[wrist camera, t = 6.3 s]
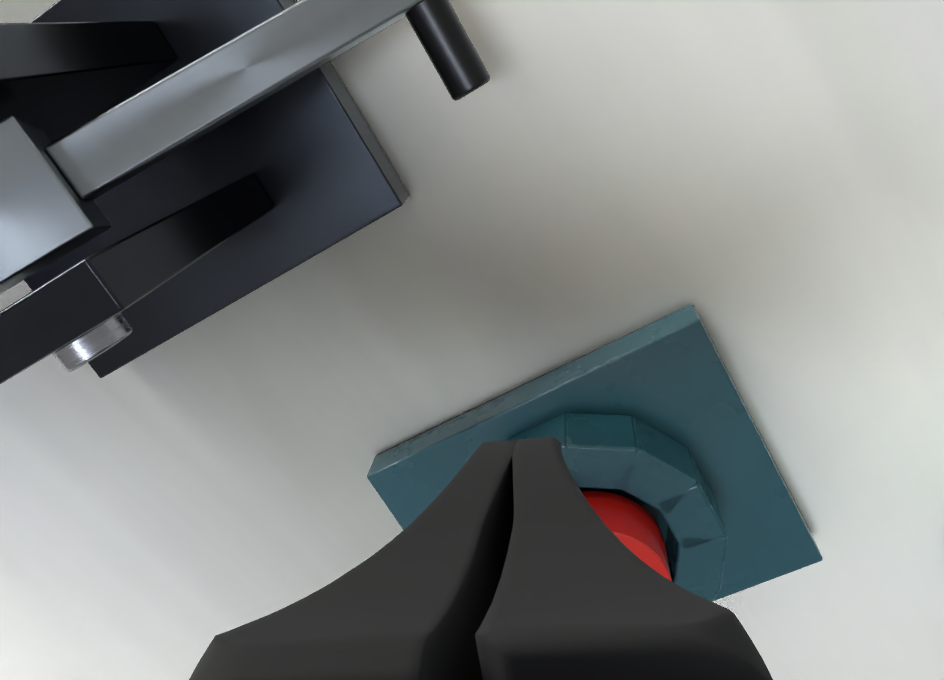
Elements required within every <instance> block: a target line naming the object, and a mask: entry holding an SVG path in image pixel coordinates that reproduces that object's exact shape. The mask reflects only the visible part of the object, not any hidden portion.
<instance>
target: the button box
mask: <svg viewBox="0 0 944 680" xmlns="http://www.w3.org/2000/svg"><path fill="white" fill-rule="evenodd" d="M543 437H555V438H556V439H557V440H558V441H560V442H561V448H562V455H563V458H564V460H565V463H566V465H567V467H568V469H569V471H570V473H571V475H572V477H573V479H574V481H575V482H576V484H577V485H578V487H579V489H580V490H581V492H585V491H602V492H609V493H614V494H618V495H621V496H623V497H626V498H628V499H630V500H632V501H634V502H635V503H637V504H639V505H640V506H641V507H643V508H644V509H645V510H646V511H647V512H648V513H649V514H650V515H651V516H652V517H653V518H654V520H655V521H656V523H657V524H658V526H659V528H660V530H661V532H662V535H663V539H664V543H665V548H666V553H667V559H668V564H669V569H670V574H671V579H672V582H673V583H675V584H677V585H679V586H680V587H682V588H684V589H685V590H687V591H689V592H691V593H693V594H695V595H698V596H700V597H702V598H704V599H707V600H709V601H711V602H712V601H715V600H717V599H720V598H723V597H725V596H728V595H731V594H733V593H736V592H739V591H742V590H744V589H747V588H750V587H752V586H755V585H758V584H760V583H763V582H766V581H768V580H771V579H774V578H776V577H779V576H782V575H784V574H787V573H790V572H792V571H795V570H798V569H801V568H803V567H806V566H809V565H811V564H814V563H817V562H819V561H822V556H821V554H820V552H819V549H818V547H817V545H816V543H815V541H814V539H813V537H812V535H811V533H810V531H809V529H808V527H807V525H806V523H805V521H804V519H803V517H802V515H801V513H800V511H799V510H798V508H797V506H796V504H795V502H794V500H793V498H792V496H791V494H790V492H789V490H788V488H787V486H786V484H785V482H784V480H783V478H782V476H781V474H780V473H779V471H778V469H777V467H776V465H775V463H774V461H773V459H772V457H771V455H770V453H769V451H768V449H767V447H766V445H765V443H764V441H763V439H762V437H761V436H760V434H759V432H758V430H757V428H756V426H755V424H754V422H753V420H752V418H751V416H750V414H749V412H748V410H747V408H746V406H745V404H744V402H743V400H742V399H741V397H740V395H739V393H738V391H737V389H736V387H735V385H734V383H733V381H732V379H731V377H730V375H729V373H728V371H727V369H726V367H725V365H724V363H723V362H722V360H721V358H720V356H719V354H718V352H717V350H716V348H715V346H714V344H713V342H712V340H711V338H710V336H709V334H708V332H707V330H706V328H705V326H704V325H703V323H702V321H701V319H700V317H699V315H698V313H697V311H696V309H695V307H694V305H689V306H687V307H685V308H683V309H681V310H678V311H676V312H674V313H672V314H670V315H668V316H666V317H664V318H662V319H660V320H658V321H656V322H653V323H651V324H649V325H647V326H645V327H643V328H641V329H639V330H637V331H635V332H633V333H631V334H629V335H626V336H624V337H622V338H620V339H618V340H616V341H614V342H612V343H610V344H608V345H606V346H604V347H601V348H599V349H597V350H595V351H593V352H591V353H589V354H587V355H585V356H583V357H581V358H579V359H576V360H574V361H572V362H570V363H568V364H566V365H564V366H562V367H560V368H558V369H556V370H554V371H552V372H549V373H547V374H545V375H543V376H541V377H539V378H537V379H535V380H533V381H531V382H529V383H527V384H524V385H522V386H520V387H518V388H516V389H514V390H512V391H510V392H508V393H506V394H504V395H502V396H499V397H497V398H495V399H493V400H491V401H489V402H487V403H485V404H483V405H481V406H479V407H477V408H475V409H472V410H470V411H468V412H466V413H464V414H462V415H460V416H458V417H456V418H454V419H452V420H450V421H447V422H445V423H443V424H441V425H439V426H437V427H435V428H433V429H431V430H429V431H427V432H425V433H422V434H420V435H418V436H416V437H414V438H412V439H410V440H408V441H406V442H404V443H402V444H400V445H398V446H395V447H393V448H391V449H389V450H387V451H385V452H383V453H381V454H379V455H377V456H376V457H375V459H374V461H373V463H372V466H371V468H370V471H369V473H368V475H367V478H368V479H369V481H370V482H371V484H372V485H373V486H374V488H375V489H376V491H377V492H378V494H379V495H380V497H381V498H382V499H383V501H384V502H385V504H386V505H387V507H388V508H389V510H390V511H391V512H392V514H393V515H394V517H395V518H396V520H397V521H398V523H399V524H400V525H401V527H402V528H403V530H405V529H406V528H407V527H408V526H409V525H410V524H411V523H412V522H413V521H414V520H415V519H416V518H417V517H418V516H419V515H420V514H421V513H422V512H423V511H424V510H425V509H426V508H427V507H428V506H429V505H430V504H431V503H432V502H433V501H434V500H435V499H436V498H437V496H438V495H439V494H440V493H441V492H442V491H443V490H444V488H445V487H446V486H447V485H448V484H449V483H450V481H451V480H452V479H453V478H454V477H455V475H456V474H457V473H458V472H459V471H460V469H461V468H462V467H463V466H464V464H465V463H466V462H467V461H468V459H469V458H470V457H471V456H472V454H473V453H474V452H475V451H476V450H477V449H478V448H479V446H480V445H481V444H482V443H483V442H495V441H507V440H519V439H531V438H543Z"/></svg>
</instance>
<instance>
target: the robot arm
mask: <svg viewBox="0 0 944 680" xmlns="http://www.w3.org/2000/svg"><path fill="white" fill-rule="evenodd" d="M189 680H773V679H772V677H771V675H770V673H769V671H768V669H767V667H766V665H765V663H764V661H763V659H762V657H761V656H760V654H759V652H758V650H757V649H756V647H755V645H754V644H753V642H752V640H751V639H750V637H749V636H748V634H747V632H746V631H745V629H744V628H743V626H742V625H741V623H740V622H739V620H738V619H737V617H736V616H735V614H734V613H733V612H732V611H730V610H729V609H727V608H724V607H722V606H720V605H718V604H715V603H713V602H711V601H709V600H707V599H704V598H702V597H700V596H698V595H695V594H693V593H691V592H689V591H687V590H685V589H684V588H682V587H680V586H679V585H677V584H675V583H673V582H672V581H670V580H668V579H667V578H665V577H663V576H662V575H661V574H659V573H658V572H657V571H655V570H654V569H653V568H651V567H650V566H648V565H647V564H646V563H644V562H643V561H642V560H641V559H639V558H638V557H637V556H636V555H635V554H634V553H633V552H632V551H631V550H629V549H628V548H627V547H626V546H625V545H624V544H623V543H622V542H621V541H620V540H619V539H618V538H617V537H616V536H615V535H614V534H613V533H612V531H611V530H610V529H609V528H608V527H607V526H606V525H605V523H604V522H603V521H602V520H601V519H600V517H599V516H598V515H597V513H596V512H595V511H594V509H593V508H592V507H591V505H590V504H589V503H588V501H587V500H586V498H585V497H584V495H583V494H582V492H581V490H580V489H579V487H578V485H577V484H576V482H575V481H574V479H573V477H572V475H571V473H570V471H569V469H568V467H567V465H566V463H565V460H564V458H563V455H562V448H561V442H560V441H558V440H557V439H556V438H555V437H543V438H531V439H519V440H507V441H495V442H483V443H482V444H481V445H480V446H479V448H478V449H477V450H476V451H475V452H474V453H473V454H472V456H471V457H470V458H469V459H468V461H467V462H466V463H465V464H464V466H463V467H462V468H461V469H460V471H459V472H458V473H457V474H456V475H455V477H454V478H453V479H452V480H451V481H450V483H449V484H448V485H447V486H446V487H445V488H444V490H443V491H442V492H441V493H440V494H439V495H438V496H437V498H436V499H435V500H434V501H433V502H432V503H431V504H430V505H429V506H428V507H427V508H426V509H425V510H424V511H423V512H422V513H421V514H420V515H419V516H418V517H417V518H416V519H415V520H414V521H413V522H412V523H411V524H410V525H409V526H408V527H407V528H406V529H405V530H404V531H402V532H401V533H400V534H399V535H398V536H397V537H395V538H394V539H393V540H392V541H391V542H389V543H388V544H387V545H386V546H384V547H383V548H382V549H380V550H379V551H378V552H377V553H375V554H374V555H373V556H371V557H370V558H369V559H367V560H366V561H364V562H363V563H361V564H360V565H358V566H357V567H355V568H354V569H352V570H350V571H349V572H347V573H346V574H344V575H343V576H341V577H340V578H338V579H337V580H335V581H334V582H332V583H330V584H329V585H327V586H325V587H324V588H322V589H320V590H318V591H316V592H314V593H313V594H311V595H309V596H307V597H305V598H303V599H301V600H299V601H297V602H295V603H293V604H291V605H289V606H287V607H285V608H283V609H281V610H279V611H277V612H274V613H272V614H270V615H267V616H265V617H263V618H260V619H258V620H255V621H253V622H250V623H248V624H245V625H243V626H240V627H238V628H235V629H233V630H230V631H228V632H225V633H222V634H219V635H216V636H215V638H214V639H213V641H212V642H211V644H210V645H209V647H208V648H207V650H206V652H205V653H204V655H203V656H202V658H201V659H200V661H199V663H198V664H197V666H196V668H195V670H194V672H193V674H192V676H191V677H190V679H189Z"/></svg>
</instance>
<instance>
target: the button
mask: <svg viewBox="0 0 944 680" xmlns="http://www.w3.org/2000/svg"><path fill="white" fill-rule="evenodd" d="M582 494H583V495H584V497H585V498H586V500H587V501H588V503H589V504H590V505H591V507H592V508H593V509H594V511H595V512H596V513H597V515H598V516H599V517H600V519H601V520H602V521H603V522H604V523H605V525H606V526H607V527H608V528H609V529H610V530H611V531H612V533H613V534H614V535H615V536H616V537H617V538H618V539H619V540H620V541H621V542H622V543H623V544H624V545H625V546H626V547H627V548H628V549H629V550H631V551H632V552H633V553H634V554H635V555H636V556H637V557H638V558H639V559H641V560H642V561H643V562H644V563H646V564H647V565H648V566H650V567H651V568H653V569H654V570H655V571H657V572H658V573H659V574H661V575H662V576H663V577H665V578H667V579H668V580H670V581H672V579H671V574H670V569H669V564H668V559H667V553H666V548H665V543H664V539H663V535H662V532H661V530H660V528H659V526H658V524H657V523H656V521H655V520H654V518H653V517H652V516H651V515H650V514H649V513H648V512H647V511H646V510H645V509H644V508H643V507H641V506H640V505H639V504H637V503H635V502H634V501H632V500H630V499H628V498H626V497H623V496H621V495H618V494H614V493H609V492H602V491H585V492H582Z"/></svg>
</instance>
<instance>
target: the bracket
mask: <svg viewBox="0 0 944 680" xmlns="http://www.w3.org/2000/svg"><path fill="white" fill-rule="evenodd" d="M294 4H295V2H294V1H293V0H59V1H57V2H56V3H55V4H53V5H52V6H51V7H49V8H48V9H47V10H46V11H44V12H43V13H42V14H40V15H39V16H38V17H36V18H35V19H34V20H32V21H31V22H30V23H0V121H2V120H3V119H5V118H7V117H9V116H14V117H16V118H18V119H20V120H22V121H24V122H26V123H28V124H30V125H32V126H34V127H36V128H38V129H40V130H42V131H44V133H45V134H46V136H47V137H48V138H49V140H50V141H51V143H52V142H53V141H55V140H57V139H59V138H60V137H62V136H64V135H66V134H67V133H69V132H71V131H73V130H74V129H76V128H78V127H80V126H81V125H83V124H85V123H87V122H88V121H90V120H92V119H94V118H95V117H97V116H99V115H101V114H102V113H104V112H106V111H108V110H109V109H111V108H113V107H115V106H116V105H118V104H120V103H122V102H123V101H125V100H127V99H129V98H131V97H132V96H134V95H136V94H138V93H139V92H141V91H143V90H145V89H146V88H148V87H150V86H152V85H153V84H155V83H157V82H159V81H160V80H162V79H164V78H166V77H167V76H169V75H171V74H173V73H174V72H176V71H178V70H180V69H181V68H183V67H185V66H187V65H188V64H190V63H192V62H194V61H195V60H197V59H199V58H201V57H202V56H204V55H206V54H208V53H210V52H211V51H213V50H215V49H217V48H218V47H220V46H222V45H224V44H225V43H227V42H229V41H231V40H232V39H234V38H236V37H238V36H239V35H241V34H243V33H245V32H246V31H248V30H250V29H252V28H253V27H255V26H257V25H259V24H260V23H262V22H264V21H266V20H267V19H269V18H271V17H273V16H274V15H276V14H278V13H280V12H281V11H283V10H285V9H287V8H289V7H290V6H292V5H294ZM409 196H410V194H409V192H408V190H407V189H406V187H405V185H404V184H403V182H402V180H401V179H400V177H399V175H398V174H397V172H396V170H395V169H394V167H393V165H392V164H391V162H390V160H389V159H388V157H387V155H386V154H385V152H384V150H383V149H382V147H381V145H380V144H379V142H378V140H377V139H376V137H375V135H374V134H373V132H372V130H371V129H370V127H369V125H368V124H367V122H366V120H365V119H364V117H363V115H362V114H361V112H360V110H359V109H358V107H357V105H356V104H355V102H354V101H353V99H352V97H351V96H350V94H349V92H348V91H347V89H346V87H345V86H344V84H343V82H342V81H341V79H340V77H339V76H338V74H337V72H336V71H335V69H334V67H333V66H332V64H331V62H330V61H329V62H327V63H325V64H324V65H322V66H320V67H319V68H317V69H315V70H314V71H312V72H310V73H308V74H307V75H305V76H303V77H302V78H300V79H298V80H297V81H295V82H293V83H291V84H290V85H288V86H286V87H285V88H283V89H281V90H280V91H278V92H276V93H274V94H273V95H271V96H269V97H268V98H266V99H264V100H263V101H261V102H259V103H257V104H256V105H254V106H252V107H251V108H249V109H247V110H246V111H244V112H242V113H240V114H239V115H237V116H235V117H234V118H232V119H230V120H229V121H227V122H225V123H223V124H222V125H220V126H218V127H217V128H215V129H213V130H212V131H210V132H208V133H206V134H205V135H203V136H201V137H200V138H198V139H196V140H195V141H193V142H191V143H189V144H188V145H186V146H184V147H183V148H181V149H179V150H178V151H176V152H174V153H172V154H171V155H169V156H167V157H166V158H164V159H162V160H161V161H159V162H157V163H155V164H154V165H152V166H150V167H149V168H147V169H145V170H144V171H142V172H140V173H138V174H137V175H135V176H133V177H132V178H130V179H128V180H127V181H125V182H123V183H121V184H120V185H118V186H116V187H115V188H113V189H111V190H110V191H108V192H106V193H104V194H103V195H101V196H99V197H98V198H96V199H94V200H93V201H94V202H95V203H96V205H97V206H98V207H99V209H100V210H101V212H102V213H103V214H104V216H105V217H106V219H107V220H108V221H109V223H110V224H111V228H110V229H108V230H106V231H105V232H103V233H101V234H100V235H98V236H96V237H95V238H93V239H91V240H89V241H88V242H86V243H84V244H83V245H81V246H79V247H78V248H76V249H74V250H73V251H71V252H69V253H68V254H66V255H64V256H63V257H61V258H59V259H58V260H56V261H54V262H53V263H51V264H49V265H48V266H46V267H44V268H43V269H41V270H39V271H38V272H36V273H34V274H33V275H31V276H29V277H28V278H26V279H24V280H25V282H26V283H27V284H28V286H29V287H30V288H31V289H32V292H31V293H29V294H27V295H26V296H24V297H23V298H21V299H19V300H18V301H16V302H15V303H13V304H12V305H10V306H8V307H7V308H5V309H4V310H2V311H0V384H1V383H3V382H5V381H6V380H8V379H10V378H11V377H13V376H15V375H16V374H18V373H20V372H22V371H23V370H25V369H27V368H28V367H30V366H32V365H33V364H35V363H37V362H38V361H40V360H42V359H43V358H45V357H47V356H48V355H50V354H52V353H53V355H54V356H55V358H56V359H57V360H58V361H59V363H60V364H61V365H62V367H63V368H64V369H65V370H66V371H67V372H70V371H73V370H75V369H77V368H79V367H81V366H82V365H84V364H86V363H87V362H88V363H89V364H90V366H91V367H92V368H93V370H94V371H95V372H96V373H97V375H98V376H99V377H100V378H103V377H104V376H106V375H108V374H110V373H111V372H113V371H115V370H117V369H118V368H120V367H122V366H123V365H125V364H127V363H129V362H130V361H132V360H134V359H136V358H137V357H139V356H141V355H143V354H144V353H146V352H148V351H150V350H151V349H153V348H155V347H157V346H158V345H160V344H162V343H164V342H165V341H167V340H169V339H171V338H172V337H174V336H176V335H177V334H179V333H181V332H183V331H184V330H186V329H188V328H190V327H191V326H193V325H195V324H197V323H198V322H200V321H202V320H204V319H205V318H207V317H209V316H211V315H212V314H214V313H216V312H218V311H219V310H221V309H223V308H225V307H226V306H228V305H230V304H231V303H233V302H235V301H237V300H238V299H240V298H242V297H244V296H245V295H247V294H249V293H251V292H252V291H254V290H256V289H258V288H259V287H261V286H263V285H265V284H266V283H268V282H270V281H272V280H273V279H275V278H277V277H279V276H280V275H282V274H284V273H285V272H287V271H289V270H291V269H292V268H294V267H296V266H298V265H299V264H301V263H303V262H305V261H306V260H308V259H310V258H312V257H313V256H315V255H317V254H319V253H320V252H322V251H324V250H326V249H327V248H329V247H331V246H333V245H334V244H336V243H338V242H339V241H341V240H343V239H345V238H346V237H348V236H350V235H352V234H353V233H355V232H357V231H359V230H360V229H362V228H364V227H366V226H367V225H369V224H371V223H373V222H374V221H376V220H378V219H380V218H381V217H383V216H385V215H387V214H388V213H390V212H392V211H394V210H395V209H397V208H399V207H400V206H402V205H403V203H404V202H405V201H406V200H407V199H408V197H409Z"/></svg>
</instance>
